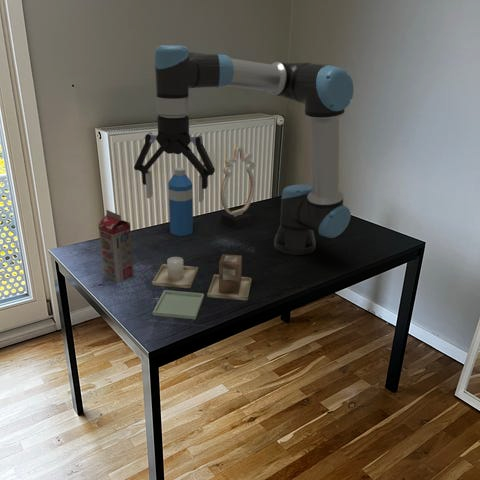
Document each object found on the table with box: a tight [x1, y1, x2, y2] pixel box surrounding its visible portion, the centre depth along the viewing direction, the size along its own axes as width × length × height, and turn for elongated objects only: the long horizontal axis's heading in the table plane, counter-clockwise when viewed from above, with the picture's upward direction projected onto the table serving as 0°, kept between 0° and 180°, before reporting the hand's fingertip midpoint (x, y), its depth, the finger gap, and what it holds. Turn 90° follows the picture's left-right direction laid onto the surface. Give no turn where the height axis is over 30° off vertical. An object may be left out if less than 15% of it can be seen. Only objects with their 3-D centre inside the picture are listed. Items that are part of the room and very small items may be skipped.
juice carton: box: [98, 209, 135, 284], centre depth 147 cm, size 7×7×22 cm
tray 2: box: [152, 289, 205, 320], centre depth 136 cm, size 12×12×2 cm
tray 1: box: [151, 263, 199, 289], centre depth 151 cm, size 12×12×2 cm
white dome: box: [166, 256, 184, 281], centre depth 150 cm, size 5×5×6 cm
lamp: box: [220, 146, 256, 230], centre depth 188 cm, size 17×9×32 cm, turn 132°
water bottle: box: [167, 167, 194, 237], centre depth 181 cm, size 9×9×25 cm
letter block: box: [218, 253, 243, 294], centre depth 144 cm, size 6×6×10 cm
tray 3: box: [206, 274, 253, 301], centre depth 146 cm, size 12×12×2 cm
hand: (175, 198), depth 123 cm, fingers open, 13 cm apart
